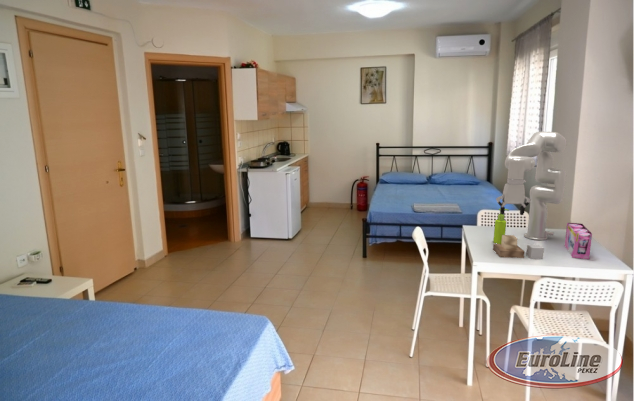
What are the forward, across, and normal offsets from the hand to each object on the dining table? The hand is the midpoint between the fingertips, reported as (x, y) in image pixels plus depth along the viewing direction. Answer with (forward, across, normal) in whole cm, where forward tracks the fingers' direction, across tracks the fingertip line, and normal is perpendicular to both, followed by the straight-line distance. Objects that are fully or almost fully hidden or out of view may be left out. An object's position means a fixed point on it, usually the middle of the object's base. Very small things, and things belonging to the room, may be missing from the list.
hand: (511, 214), depth 229 cm
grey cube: (+22, -12, +4) cm, 25 cm away
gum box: (+22, -38, -6) cm, 44 cm away
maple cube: (+18, 0, 0) cm, 18 cm away
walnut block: (+22, 0, 0) cm, 22 cm away
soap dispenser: (+22, -2, -20) cm, 30 cm away
